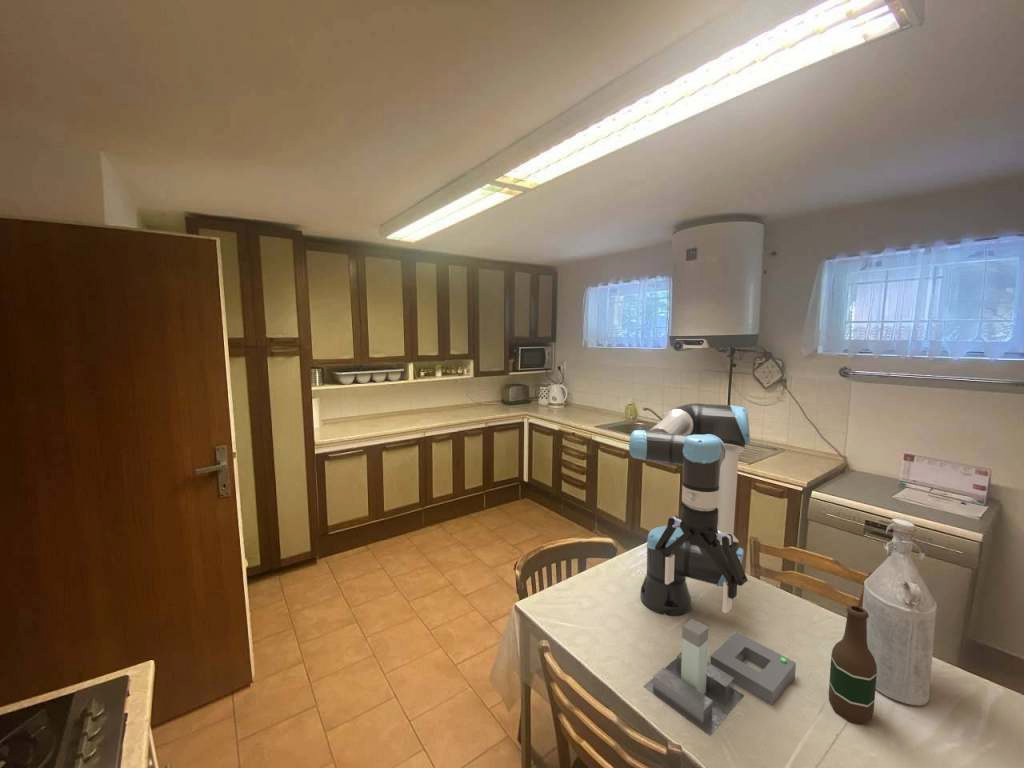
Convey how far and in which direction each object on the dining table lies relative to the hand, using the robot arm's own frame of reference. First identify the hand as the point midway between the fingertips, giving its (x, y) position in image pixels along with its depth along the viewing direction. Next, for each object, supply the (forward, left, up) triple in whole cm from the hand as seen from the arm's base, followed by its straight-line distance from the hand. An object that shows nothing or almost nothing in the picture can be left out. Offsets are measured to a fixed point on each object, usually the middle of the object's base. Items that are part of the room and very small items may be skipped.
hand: (696, 595), depth 95 cm
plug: (0, 0, -24) cm, 24 cm away
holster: (0, 0, -25) cm, 25 cm away
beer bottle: (+24, +23, -25) cm, 41 cm away
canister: (+28, +41, -25) cm, 56 cm away
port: (+6, +17, -25) cm, 30 cm away
